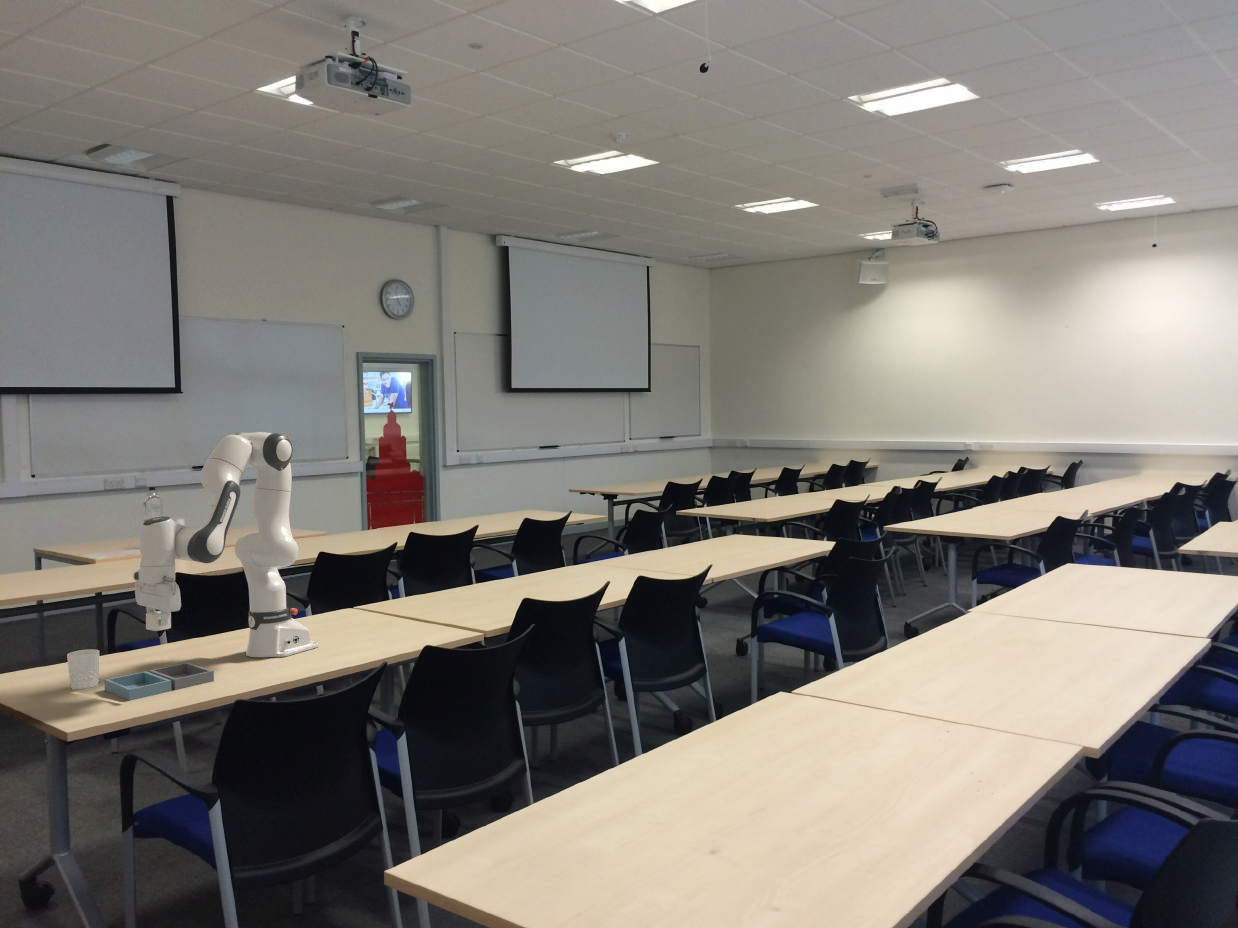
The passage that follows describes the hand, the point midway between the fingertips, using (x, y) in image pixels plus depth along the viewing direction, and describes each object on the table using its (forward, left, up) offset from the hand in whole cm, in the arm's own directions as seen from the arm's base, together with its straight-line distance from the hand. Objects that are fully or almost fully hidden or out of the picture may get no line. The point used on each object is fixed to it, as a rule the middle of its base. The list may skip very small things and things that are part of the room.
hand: (158, 624), depth 256 cm
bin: (+6, 0, -18) cm, 19 cm away
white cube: (0, 0, -1) cm, 1 cm away
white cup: (+13, -18, -18) cm, 29 cm away
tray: (-6, 0, -18) cm, 19 cm away
